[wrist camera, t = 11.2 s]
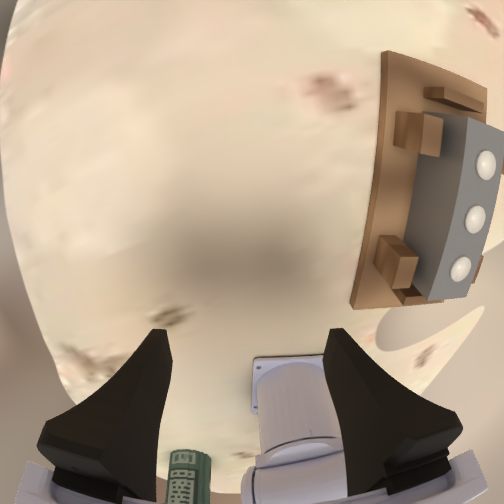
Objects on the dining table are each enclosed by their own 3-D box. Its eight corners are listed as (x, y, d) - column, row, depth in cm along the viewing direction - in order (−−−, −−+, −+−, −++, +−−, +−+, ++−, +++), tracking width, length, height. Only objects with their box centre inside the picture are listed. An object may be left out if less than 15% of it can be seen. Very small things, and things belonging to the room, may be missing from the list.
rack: (438, 296, 24) (461, 324, 20) (349, 302, 24) (367, 337, 20) (479, 88, 16) (516, 91, 12) (381, 52, 15) (415, 42, 11)
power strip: (433, 264, 22) (467, 299, 17) (396, 265, 21) (429, 303, 17) (461, 123, 16) (509, 133, 12) (422, 111, 16) (471, 117, 11)
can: (181, 463, 39) (175, 540, 25) (165, 449, 36) (155, 534, 22) (215, 463, 38) (214, 543, 25) (202, 449, 35) (198, 538, 22)
